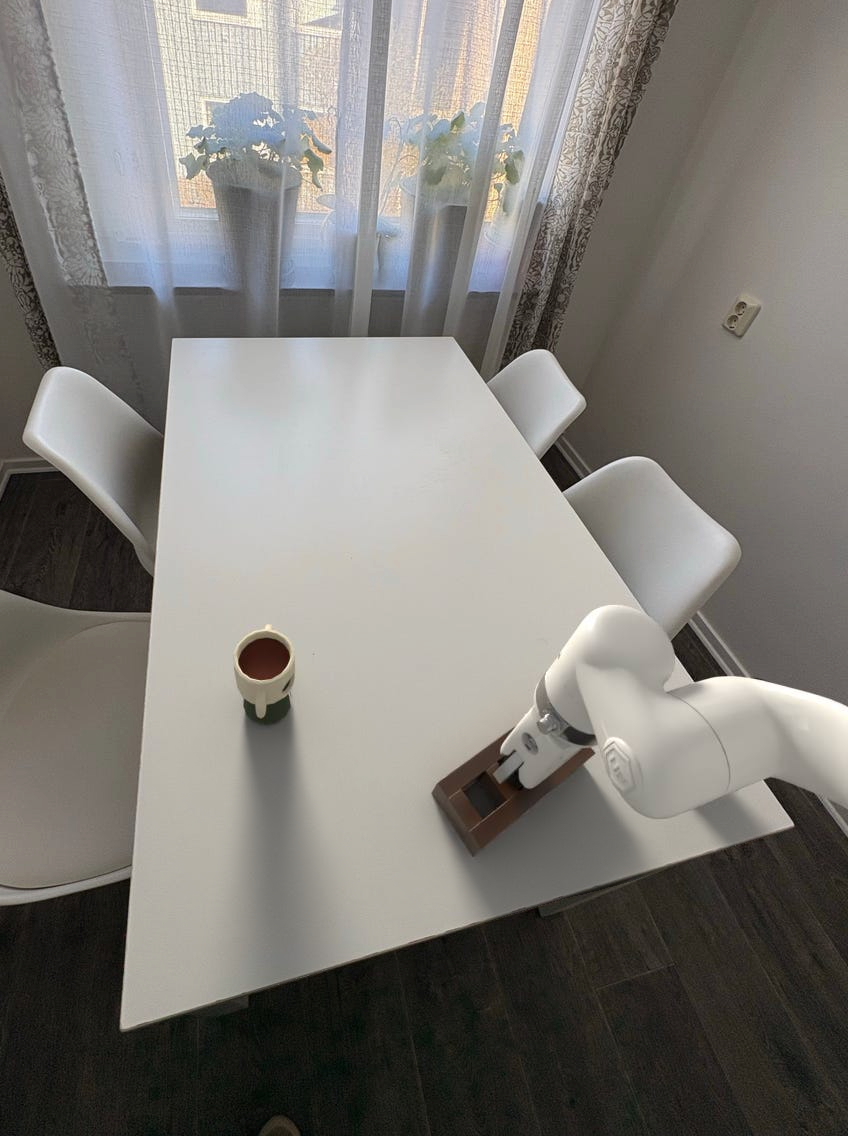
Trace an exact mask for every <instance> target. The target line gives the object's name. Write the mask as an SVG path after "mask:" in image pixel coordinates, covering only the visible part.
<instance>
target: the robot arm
mask: <svg viewBox="0 0 848 1136" xmlns="http://www.w3.org/2000/svg"><path fill="white" fill-rule="evenodd" d="M675 654H676V653H675V650H674V646H673V644H672V641H671V639H670V637H669V636H668V634H667V632H666V631H665V630H664V629H663V628H662V627H661V625H660V624H659V623H658V622H657V621H656V620H655V619H653V618H652V617H651V616H649V615H648V614H646V613H644V612H642V611H640V610H639V609H636V608H634V607H631V606H627V605H622V604H621V605H620V604H607V605H603V606H600V607H597V608H595V609H594V610H592V611H591V612H589V613H588V614H587V615H586V616H585V618H583V620H582V621H581V622H580V624H579V625H578V627H577V628H576V629H575V631H574V632H573V634H572V635H571V636H570V638H569V639H568V641H567V642H566V644H565V645H564V647H562V649H561V650H560V652H559V654H558V655H557V656H556V658H555V659H554V661H552V664H551V665H550V666H549V667H548V669H547V670H546V672H545V673H544V674H543V676H542V677H541V678H540V680H539V681H538V682H537V684H536V686H535V688H534V689H535V690H534V693H533V704H534V705H533V706H532V707H531V708H530V709H529V710H528V711H527V712H526V713H525V714H524V716H523V717H522V718H521V720H520V721H519V722H518V723H517V724H518V725H517V724H516V725H517V726H516V725H515V726H516V727H515V726H514V727H515V728H514V729H513V731H512V732H511V733H510V734H509V736H508V737H507V738H506V740H505V741H504V743H503V744H502V746H501V750H500V753H501V755H502V754H503V755H504V756H505V755H506V756H505V757H504V759H503V760H502V761H501V762H500V764H499V768H498V769H497V770H496V771H495V772H494V773H493V776H494V777H495V778H496V780H497V781H498V783H499V784H502V783H503V782H504V781H507V782H508V783H509V784H512V785H513V787H514V788H515V789H518V790H520V789H521V788H522V787H523V788H524V787H525V788H530V789H531V788H534V787H535V786H537V785H538V784H539V783H541V782H542V781H543V780H544V779H546V778H547V777H548V776H549V775H551V774H552V773H553V772H554V771H556V770H557V769H558V768H559V767H560V766H562V765H563V764H564V763H565V762H566V761H568V760H569V759H570V758H571V757H573V756H574V755H575V754H576V753H577V752H578V751H580V750H581V749H582V748H590V747H591V748H594V747H596V746H598V748H599V750H600V753H601V757H602V759H603V764H604V768H605V771H606V774H607V776H608V778H609V780H610V782H611V784H612V785H613V787H614V788H615V789H616V791H617V792H618V794H619V795H620V797H621V798H622V799H623V800H624V802H625V803H626V804H627V805H628V806H629V807H630V808H631V809H633V810H634V811H635V812H636V813H638V814H639V815H641V816H643V817H645V818H649V819H652V820H665V819H666V820H667V819H671V818H674V817H677V816H680V815H683V814H685V813H688V812H690V811H692V810H695V809H697V808H699V807H702V806H704V805H706V804H708V803H710V802H713V801H716V800H718V799H720V798H722V797H724V796H727V795H730V794H733V793H735V792H737V791H740V790H742V789H745V788H747V787H749V786H750V785H754V784H756V783H758V782H761V781H764V780H766V779H769V778H773V779H778V780H780V781H783V782H786V783H789V784H792V785H794V786H796V787H798V788H801V789H803V790H806V791H808V792H811V793H813V794H815V795H818V796H820V797H822V798H824V799H827V800H829V801H831V802H833V803H835V804H837V805H839V806H841V807H842V808H844V809H846V810H848V706H847V705H845V704H843V703H841V702H838V701H836V700H833V699H830V698H828V697H825V696H822V695H818V694H815V693H812V692H808V691H805V690H801V689H797V688H793V687H790V686H785V685H782V684H779V683H773V682H771V681H769V682H766V681H767V680H766V681H762V680H757V679H752V678H753V677H746V676H745V677H744V676H736V675H735V676H732V675H727V676H725V675H724V676H715V677H714V676H713V677H710V678H706V679H702V680H699V681H695V682H692V683H689V684H685V685H683V686H680V687H677V688H674V689H671V690H667V691H665V688H664V685H666V683H667V682H668V681H669V680H670V678H671V676H672V675H673V671H674V670H675V664H676V656H675ZM770 682H771V683H770ZM522 785H523V786H522ZM521 786H522V787H521ZM520 787H521V788H520Z"/></svg>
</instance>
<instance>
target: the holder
mask: <svg viewBox="0 0 848 1136" xmlns="http://www.w3.org/2000/svg"><path fill="white" fill-rule="evenodd" d="M517 725H518V723H517V724H516V725H514V726H513V727H512V728H511V729H509V730H507V731H506V732H505V733H504V734H502V735H501V736H499V737H498V738H496V740H494V741H493V742H491V743H490V744H488V745H487V746H485V747H484V748H483V749H481V750H480V751H479V752H477V753H475V755H473V756H472V757H470V758H469V759H468V760H466V761H464V763H462V764H460V765H459V766H458V767H457V768H455V769H454V770H452V771H451V772H450V773H448V774H447V775H446V776H444V777H442V778H441V779H440V780H439V781H437V783H436V784H435V786H434V787H433V789H432V791H431V794H432V796H433V797H434V799H435V800H436V802H437V804H438V805H439V807H440V808H441V810H442V811H443V813H444V815H445V816H446V818H447V819H448V821H449V823H450V824H451V825H452V827H453V829H454V831H455V832H456V833H457V835H458V836H459V838H460V840H461V841H462V843H463V844H464V846H465V848H466V849H467V851H468V852H469V854H470V855H471V857H475V856H476V855H477V854H478V853H479V852H481V851H482V850H483V849H484V848H486V847H487V846H489V844H490V843H491V842H493V841H494V840H495V839H496V838H497V837H499V836H500V835H501V834H502V833H503V832H504V831H506V830H507V829H508V828H510V827H511V826H512V825H513V824H515V822H516V821H517V820H519V819H520V818H521V817H522V816H524V815H525V814H526V813H528V811H530V810H531V809H532V808H533V807H535V806H536V805H537V804H538V803H540V801H542V800H543V799H544V798H545V797H546V796H547V795H549V794H550V793H551V792H552V791H554V789H556V788H557V787H558V786H559V785H561V784H562V783H563V782H564V781H565V780H566V779H568V778H569V777H570V776H571V775H572V774H574V773H575V772H576V771H577V770H578V769H580V768H581V767H582V766H583V765H585V764H586V763H587V762H588V761H589V760H590V759H592V758H593V757H594V756H595V755H596V751H595V750H594V749H593V747H590V748H582V749H581V750H580V751H578V752H577V753H576V754H575V755H574V756H573V757H571V758H570V759H569V760H568V761H566V762H565V763H564V764H563V765H562V766H560V767H559V768H558V769H557V770H556V771H554V772H553V773H552V774H551V775H549V776H548V777H547V778H546V779H544V780H543V781H542V782H541V783H539V784H538V785H537V786H535V787H534V788H531V789H530V788H525V787H524V786H523V787H521V788H520V789H515V788H514V787H513V785H512V784H509V783H508V782H507V781H504V782H503V783H502V784H499V783H498V781H497V780H496V778H495V777H494V776H493V773H494V772H495V771H496V770H497V769H498V768H499V764H500V762H501V761H502V760H503V759H504V757H505V756H506V755H505V756H504V755H503V754H502V755H501V753H500V750H501V746H502V744H503V743H504V741H505V740H506V738H507V737H508V736H509V734H510V733H511V732H512V731H513V729H514V728H515V727H516V726H517ZM475 783H478V784H479V786H480V787H481V789H482V790H483V792H484V793H485V794H486V796H487V797H488V799H489V800H490V801H491V803H492V804H493V806H494V807H495V808H496V809H495V810H493V811H492V812H491V813H490V814H489V815H487V816H486V817H485V818H484V819H483V818H482V817H481V815H480V814H479V813H478V811H477V810H476V808H475V807H474V805H473V804H472V803H471V801H470V799H469V797H468V796H467V795H466V793H465V791H466V790H468V789H469V788H471V787H472V786H473V785H474V784H475Z"/></svg>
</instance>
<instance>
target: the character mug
mask: <svg viewBox="0 0 848 1136" xmlns="http://www.w3.org/2000/svg"><path fill="white" fill-rule="evenodd" d="M295 652H296V651H295V648H294V645H293V642H292V641H291V640H290V639H289V638H288V636H287V635H285V634H283V633H282V632H280V631H279V630H275V629H274V627H273V625H272V624H270V623H267V624H266V625H265V626H264V628H262V629H256V630H254V631H251V632H250V633H247V634H246V635H244V636H243V637H242V639H241V640H240V641H239V642H238V643H237V644H236V646H235V649H234V650H233V655H232V657H233V671H234V677H235V683H236V689H237V690H238V693H240V695H241V697H242V698H243V702H242V703H243V706H242V707H243V709H244V712H245V714H246V716H247V718H249V719H250V720H251V721H253V723H257V724H261V725H272V724H277V723H278V722H279V721H281V720H282V719H284V718H285V717H286V716H287V714H288V713H289V711H290V709H291V706H292V704H291V697H290V696H292V692H291V691H292V689H293V686H294V683H295V679H296V654H295ZM289 694H290V695H289Z"/></svg>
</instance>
